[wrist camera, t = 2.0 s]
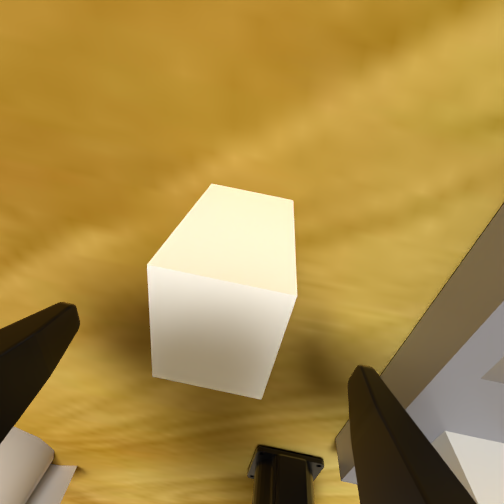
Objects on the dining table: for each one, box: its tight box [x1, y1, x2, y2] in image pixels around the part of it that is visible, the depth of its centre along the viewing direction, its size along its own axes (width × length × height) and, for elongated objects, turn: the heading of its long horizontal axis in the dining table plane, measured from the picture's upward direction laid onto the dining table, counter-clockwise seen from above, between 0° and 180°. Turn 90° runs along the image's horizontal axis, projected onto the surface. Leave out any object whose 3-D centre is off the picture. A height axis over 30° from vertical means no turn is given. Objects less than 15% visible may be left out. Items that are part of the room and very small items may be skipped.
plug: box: [147, 184, 297, 400], centre depth 11 cm, size 5×4×7 cm
